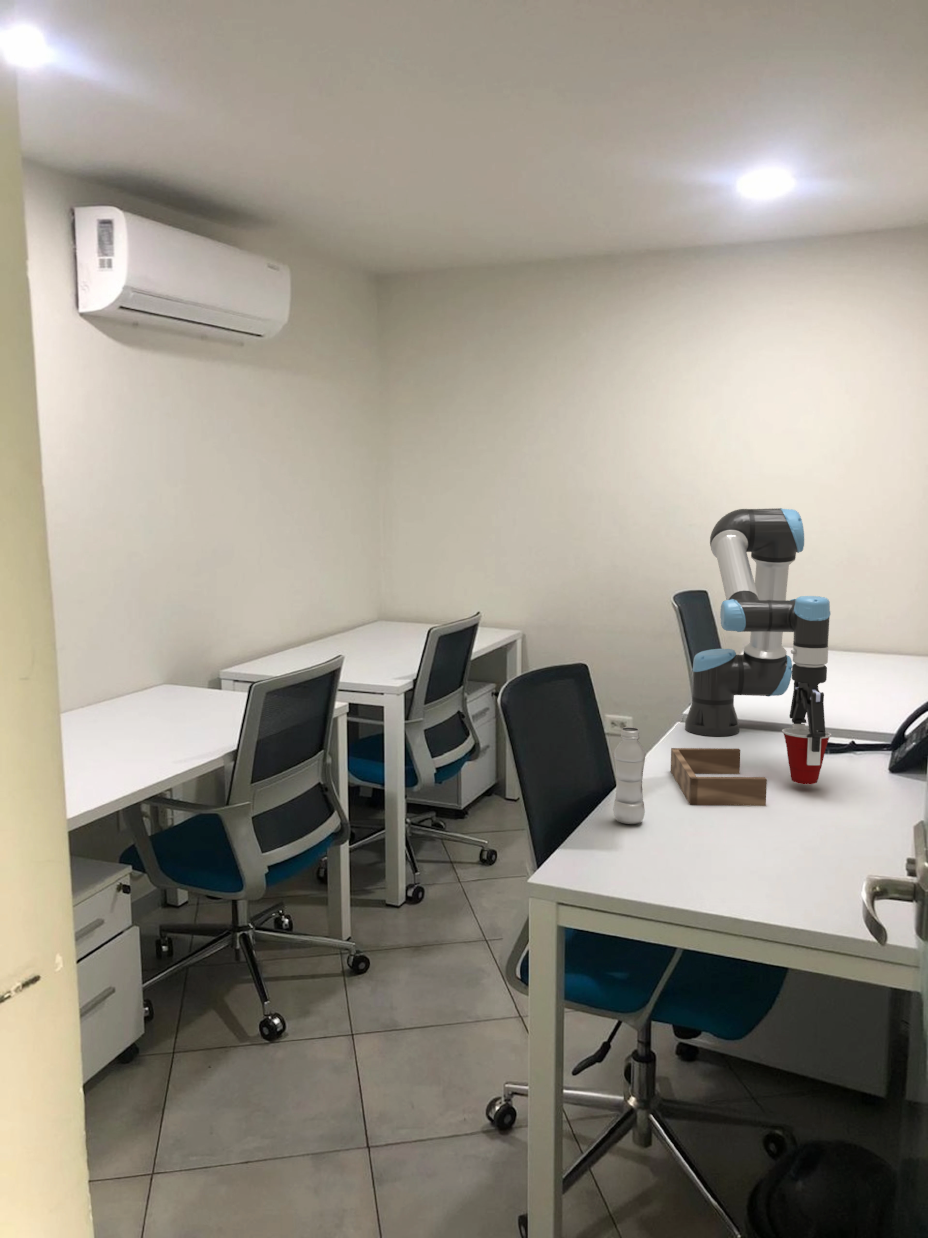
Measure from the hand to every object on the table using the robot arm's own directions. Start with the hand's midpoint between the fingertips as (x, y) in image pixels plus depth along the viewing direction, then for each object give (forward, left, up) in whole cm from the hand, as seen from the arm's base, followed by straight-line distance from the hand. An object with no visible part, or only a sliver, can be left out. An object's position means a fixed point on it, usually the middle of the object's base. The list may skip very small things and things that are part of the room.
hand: (805, 757), depth 220 cm
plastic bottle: (+24, -44, -8) cm, 50 cm away
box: (0, -20, -7) cm, 21 cm away
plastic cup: (0, 0, -6) cm, 6 cm away
